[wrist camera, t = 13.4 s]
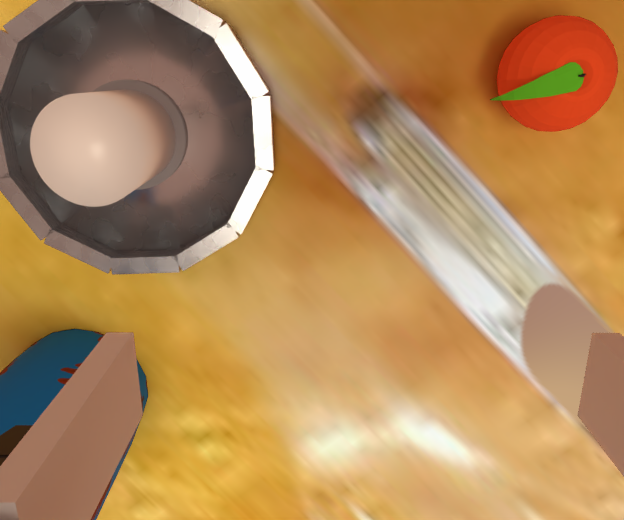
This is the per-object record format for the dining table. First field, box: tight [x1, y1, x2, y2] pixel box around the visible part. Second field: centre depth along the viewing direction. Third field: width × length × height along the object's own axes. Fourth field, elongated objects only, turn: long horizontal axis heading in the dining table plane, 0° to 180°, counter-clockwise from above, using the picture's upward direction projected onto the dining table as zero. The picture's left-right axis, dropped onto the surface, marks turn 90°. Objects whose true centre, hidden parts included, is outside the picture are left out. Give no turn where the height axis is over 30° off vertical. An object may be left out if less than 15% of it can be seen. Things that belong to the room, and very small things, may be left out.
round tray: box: [0, 0, 275, 274], centre depth 38 cm, size 19×19×2 cm
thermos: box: [0, 329, 148, 520], centre depth 34 cm, size 11×11×25 cm
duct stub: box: [30, 80, 188, 207], centre depth 34 cm, size 7×7×9 cm
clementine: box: [490, 15, 618, 132], centre depth 35 cm, size 8×7×7 cm
